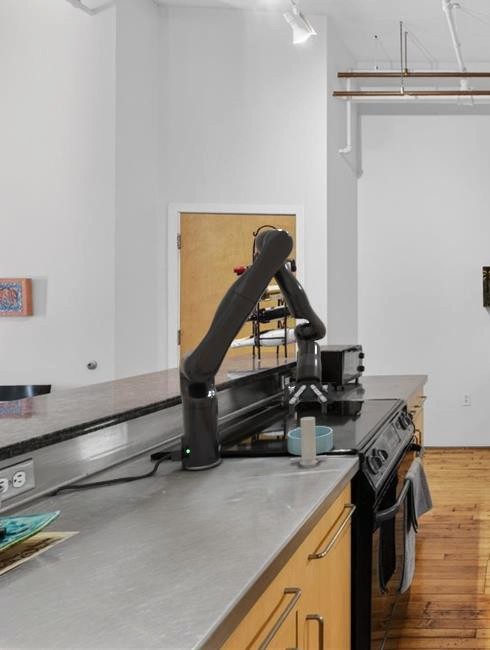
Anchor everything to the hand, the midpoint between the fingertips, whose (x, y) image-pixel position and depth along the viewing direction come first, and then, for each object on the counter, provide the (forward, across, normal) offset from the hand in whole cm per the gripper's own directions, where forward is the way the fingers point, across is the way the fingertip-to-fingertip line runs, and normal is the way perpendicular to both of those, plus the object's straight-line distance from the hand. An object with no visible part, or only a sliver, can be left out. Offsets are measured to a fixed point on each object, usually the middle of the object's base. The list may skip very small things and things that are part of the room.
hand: (307, 416), depth 137 cm
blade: (+12, 0, +6) cm, 13 cm away
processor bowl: (+2, 0, +16) cm, 16 cm away
